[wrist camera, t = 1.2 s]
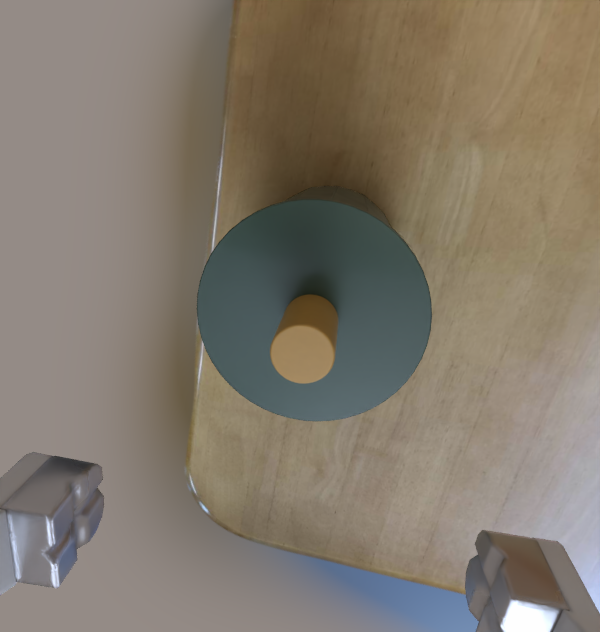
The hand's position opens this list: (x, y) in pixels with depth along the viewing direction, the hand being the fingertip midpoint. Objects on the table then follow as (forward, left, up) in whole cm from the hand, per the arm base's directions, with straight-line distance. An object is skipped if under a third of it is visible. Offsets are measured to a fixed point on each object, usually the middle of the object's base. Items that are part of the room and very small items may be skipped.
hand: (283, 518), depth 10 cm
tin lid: (0, 0, -13) cm, 13 cm away
